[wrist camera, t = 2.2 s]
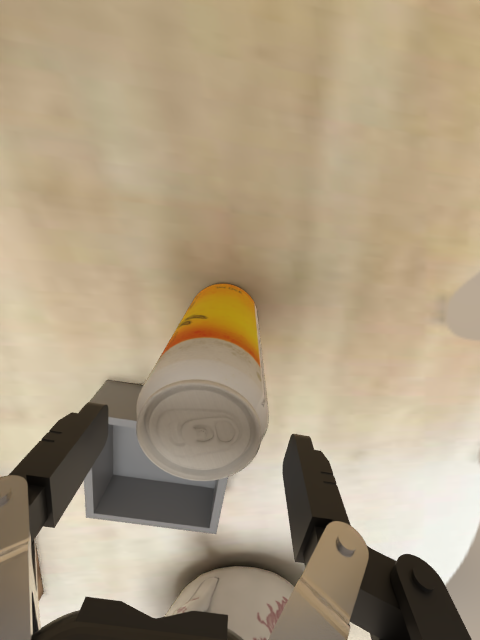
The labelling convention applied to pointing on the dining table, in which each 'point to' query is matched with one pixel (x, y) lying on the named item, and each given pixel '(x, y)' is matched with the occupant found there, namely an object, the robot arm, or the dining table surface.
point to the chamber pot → (238, 599)
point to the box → (143, 476)
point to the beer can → (207, 390)
